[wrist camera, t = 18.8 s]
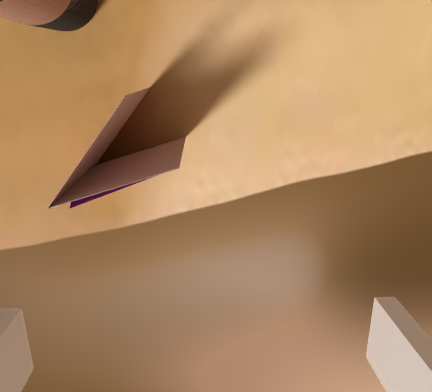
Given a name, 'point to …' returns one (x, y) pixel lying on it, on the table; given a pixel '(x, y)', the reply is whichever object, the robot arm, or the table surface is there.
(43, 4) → the travel mug
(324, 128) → the table surface
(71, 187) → the greeting card
